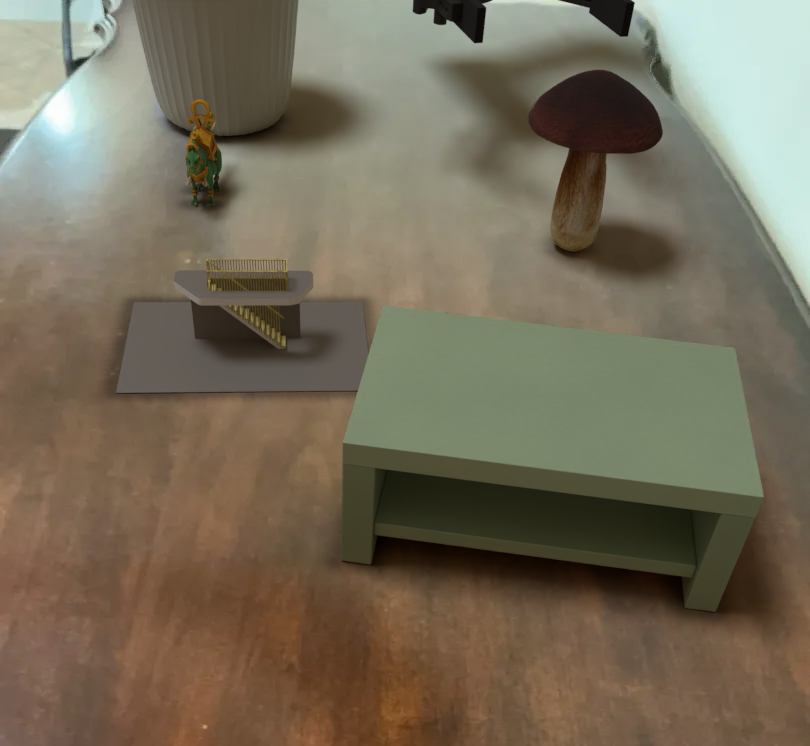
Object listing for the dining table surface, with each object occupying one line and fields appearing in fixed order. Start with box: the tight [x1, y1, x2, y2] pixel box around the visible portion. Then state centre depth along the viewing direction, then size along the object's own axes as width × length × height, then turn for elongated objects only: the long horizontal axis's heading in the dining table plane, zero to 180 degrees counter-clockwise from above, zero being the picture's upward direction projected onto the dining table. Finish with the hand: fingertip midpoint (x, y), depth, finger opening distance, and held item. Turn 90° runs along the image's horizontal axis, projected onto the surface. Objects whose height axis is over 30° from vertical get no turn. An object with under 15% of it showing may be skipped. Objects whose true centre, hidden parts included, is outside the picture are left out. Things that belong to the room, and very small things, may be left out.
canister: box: [131, 0, 299, 137], centre depth 96 cm, size 18×18×21 cm
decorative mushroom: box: [527, 69, 664, 253], centre depth 81 cm, size 11×11×15 cm
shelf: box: [340, 304, 765, 613], centre depth 59 cm, size 22×14×9 cm, turn 82°
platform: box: [115, 258, 369, 394], centre depth 71 cm, size 12×18×7 cm, turn 95°
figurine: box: [184, 99, 223, 207], centre depth 88 cm, size 3×12×8 cm, turn 179°
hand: (555, 22), depth 82 cm, fingers open, 13 cm apart
